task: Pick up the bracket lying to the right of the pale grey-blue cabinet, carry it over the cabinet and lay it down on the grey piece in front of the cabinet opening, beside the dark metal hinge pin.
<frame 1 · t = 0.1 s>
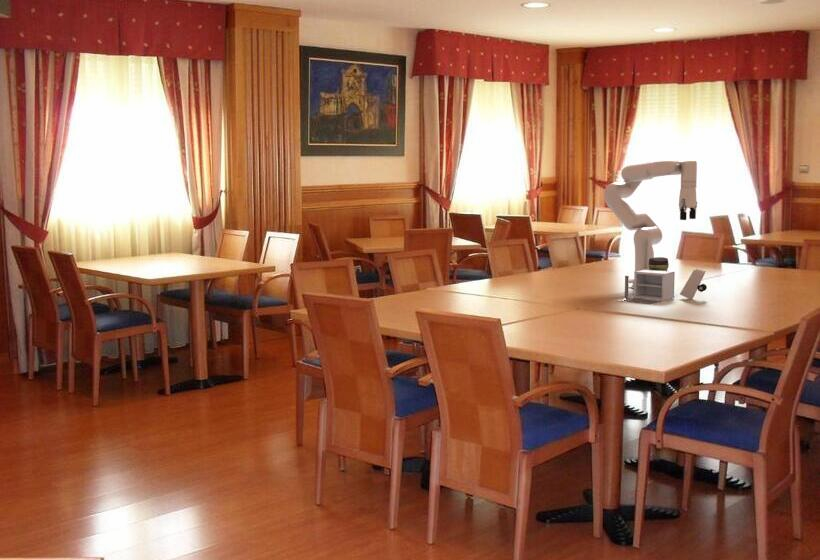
hand: (687, 219, 493), 37 cm above the table, tool pointing down, fingers open, 9 cm apart
coffee jar: (658, 294, 490), on the table
grey piece: (638, 301, 469), on the table
cabinet: (653, 298, 478), on the table
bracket: (689, 298, 473), on the table
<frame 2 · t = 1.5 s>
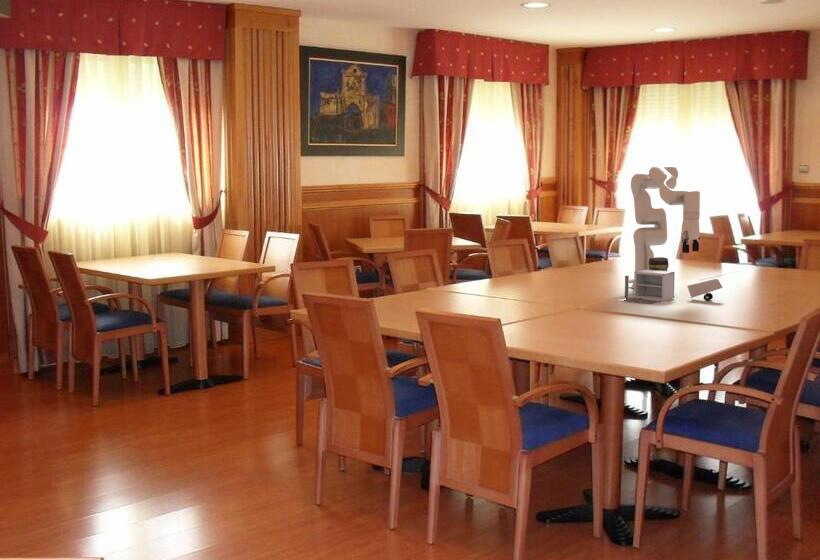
hand: (690, 252, 470), 23 cm above the table, tool pointing down, fingers open, 9 cm apart
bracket: (691, 295, 472), point 2 cm above the table
everything else where it was.
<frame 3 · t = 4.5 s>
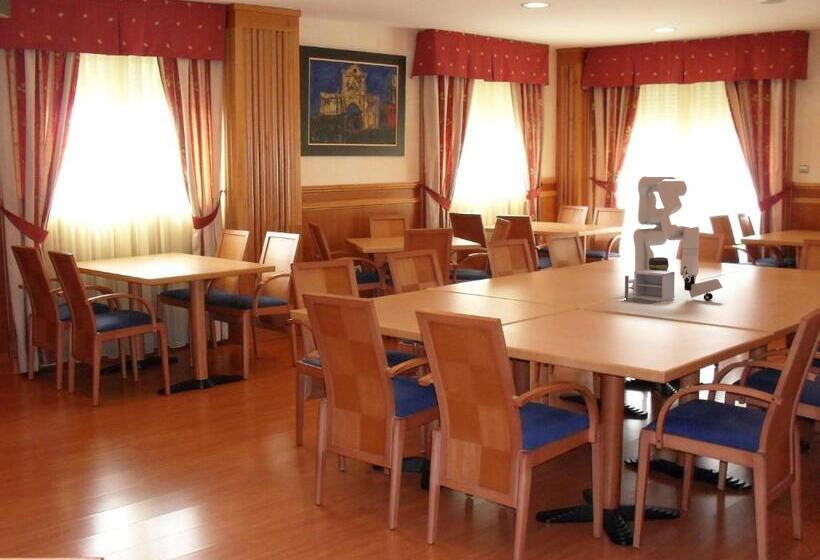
hand: (689, 289, 472), 5 cm above the table, tool pointing down, fingers closed on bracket, 3 cm apart
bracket: (691, 295, 472), point 2 cm above the table, touching gripper
everything else where it was.
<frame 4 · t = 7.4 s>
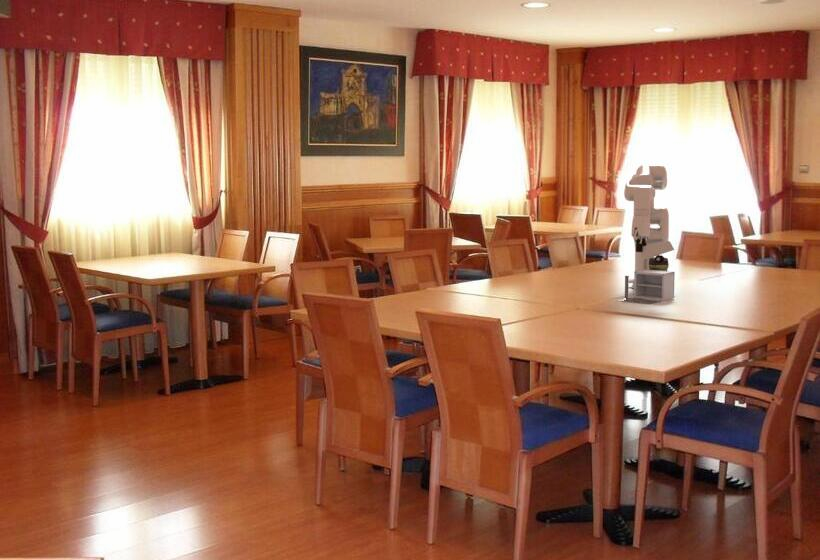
hand: (641, 251, 465), 24 cm above the table, tool pointing down, fingers closed on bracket, 3 cm apart
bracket: (642, 257, 465), point 21 cm above the table, touching gripper
everything else where it was.
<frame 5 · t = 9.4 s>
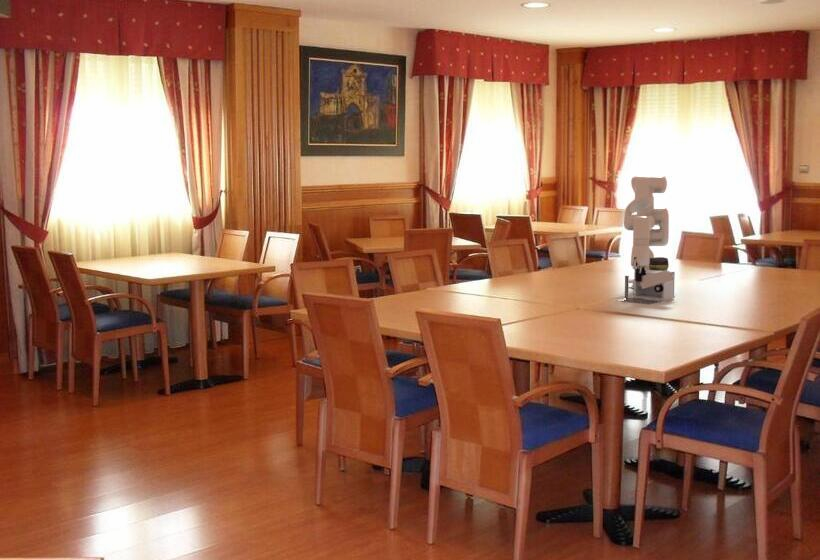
hand: (640, 280, 467), 10 cm above the table, tool pointing down, fingers closed on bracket, 3 cm apart
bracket: (641, 286, 467), point 7 cm above the table, touching gripper
everything else where it was.
when the fingers open (6 cm above the table, at t = 10.7 s): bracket stays where it is, resting on grey piece.
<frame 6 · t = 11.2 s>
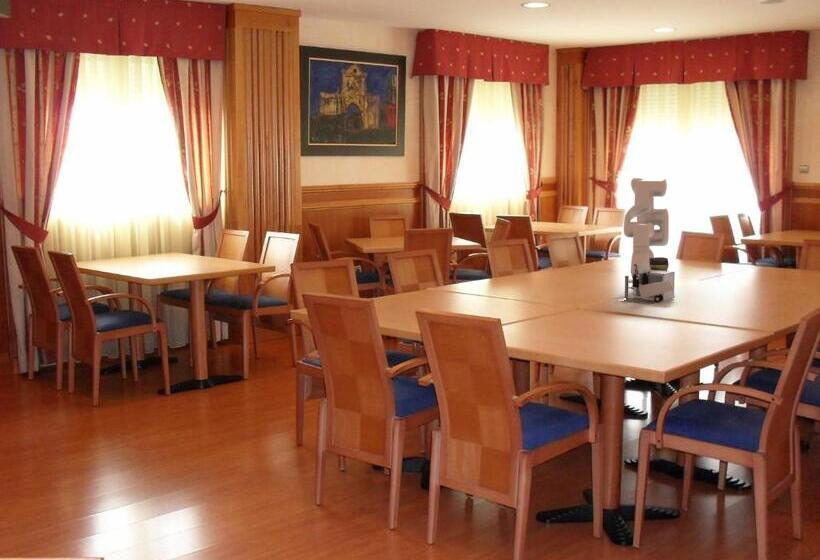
hand: (640, 286, 467), 7 cm above the table, tool pointing down, fingers open, 8 cm apart
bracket: (641, 295, 467), point 3 cm above the table, touching grey piece
everything else where it was.
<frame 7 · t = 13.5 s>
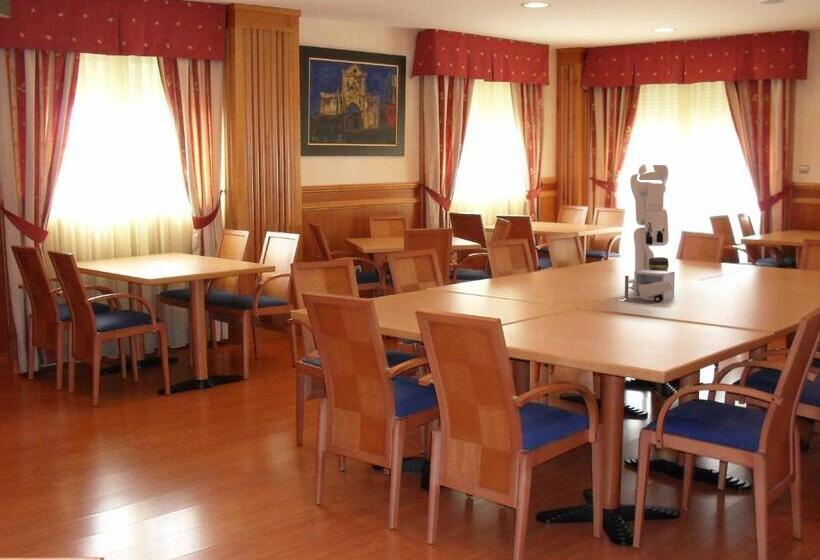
hand: (654, 243, 474), 27 cm above the table, tool pointing down, fingers open, 9 cm apart
nothing on the table moved.
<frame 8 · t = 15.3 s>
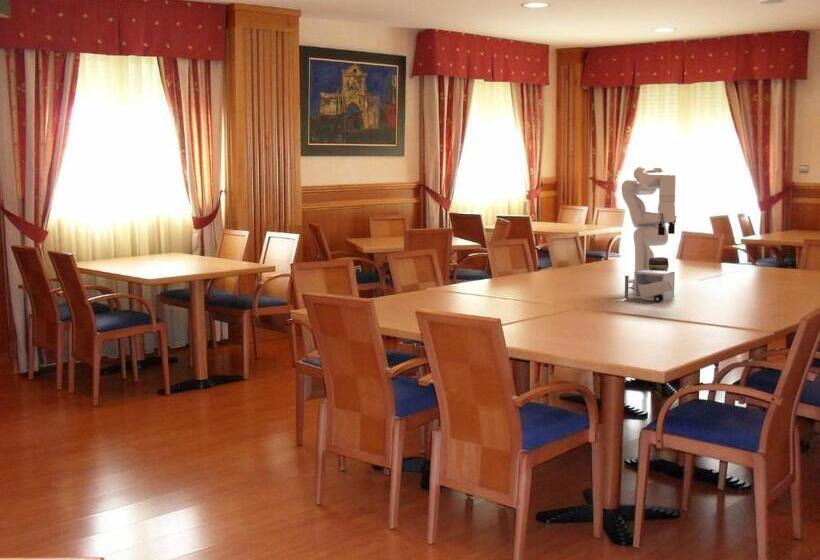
hand: (666, 234, 482), 30 cm above the table, tool pointing down, fingers open, 9 cm apart
nothing on the table moved.
at the end: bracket inside the target area (1.1 cm from its centre), point 2.5 cm above the table; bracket touching grey piece; the gripper is holding nothing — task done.
